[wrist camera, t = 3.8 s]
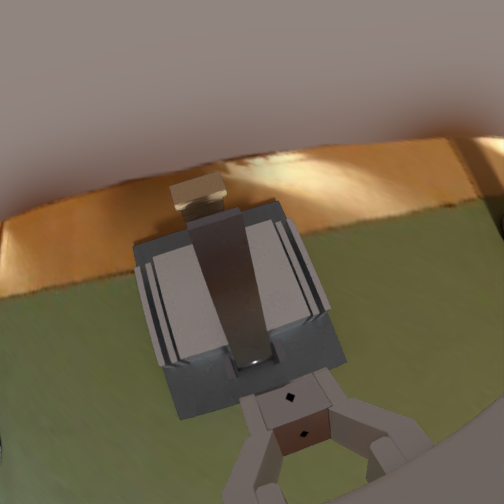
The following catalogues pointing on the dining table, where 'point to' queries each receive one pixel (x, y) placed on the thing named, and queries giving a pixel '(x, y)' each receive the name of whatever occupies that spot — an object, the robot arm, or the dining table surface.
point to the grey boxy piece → (205, 316)
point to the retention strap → (232, 285)
